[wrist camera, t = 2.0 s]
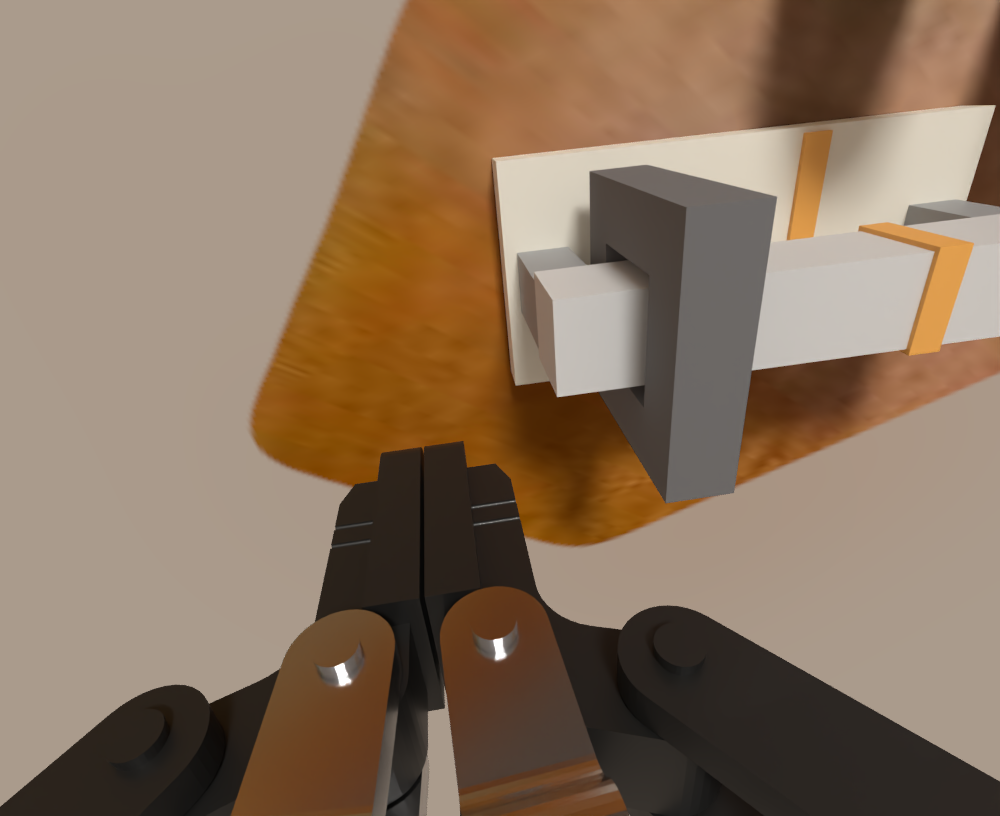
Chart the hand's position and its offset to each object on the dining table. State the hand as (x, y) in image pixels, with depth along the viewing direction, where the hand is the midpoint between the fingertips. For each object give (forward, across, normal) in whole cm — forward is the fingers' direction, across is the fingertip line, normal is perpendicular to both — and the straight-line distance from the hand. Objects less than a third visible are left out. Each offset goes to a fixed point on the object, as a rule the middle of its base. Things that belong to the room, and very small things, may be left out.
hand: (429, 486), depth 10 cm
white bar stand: (+14, -13, 0) cm, 19 cm away
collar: (+11, -7, 0) cm, 13 cm away
